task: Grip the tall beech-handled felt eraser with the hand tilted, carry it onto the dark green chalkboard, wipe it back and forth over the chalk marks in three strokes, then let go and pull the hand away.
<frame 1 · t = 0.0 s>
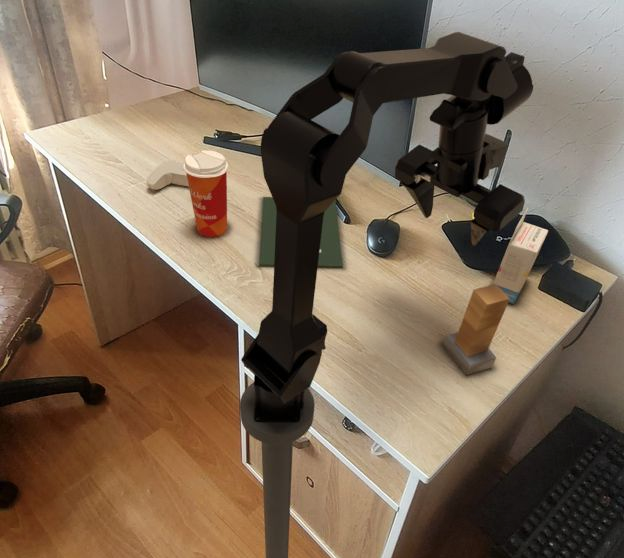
hand: (451, 229, 81), 17 cm above the table, tool pointing down, fingers open, 9 cm apart
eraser: (466, 356, 86), on the table
chalkboard: (300, 231, 108), on the table
game controller: (184, 188, 117), on the table
coffee cup: (212, 229, 107), on the table
ink box: (506, 288, 99), on the table
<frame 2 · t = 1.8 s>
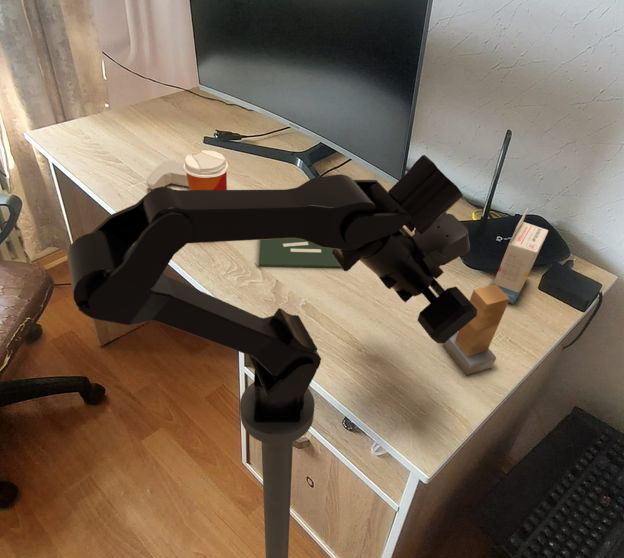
hand: (443, 304, 74), 13 cm above the table, tool tilted 45°, fingers open, 9 cm apart
nothing on the table moved.
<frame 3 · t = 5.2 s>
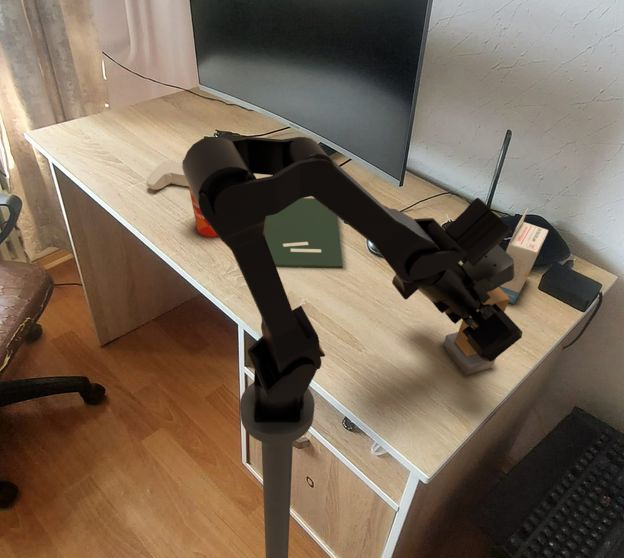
hand: (486, 323, 81), 7 cm above the table, tool tilted 45°, fingers closed on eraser, 3 cm apart
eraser: (466, 356, 86), on the table, touching gripper
everything else where it was.
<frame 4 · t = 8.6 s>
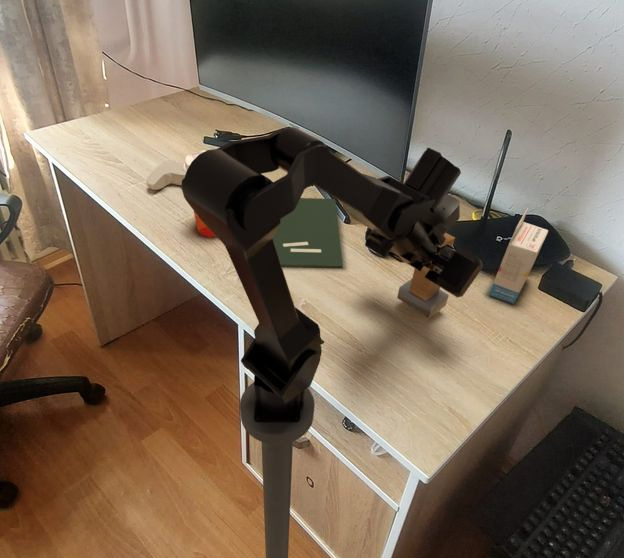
hand: (435, 266, 87), 9 cm above the table, tool tilted 45°, fingers closed on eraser, 3 cm apart
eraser: (421, 301, 92), point 2 cm above the table, touching gripper
everything else where it was.
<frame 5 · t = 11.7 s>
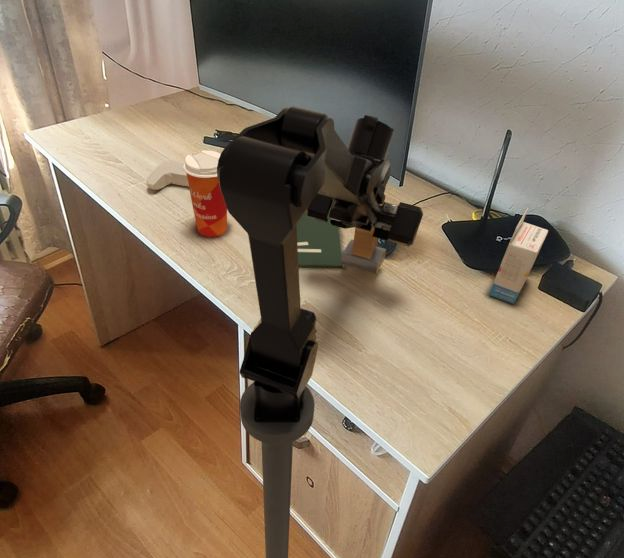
hand: (370, 225, 94), 9 cm above the table, tool tilted 45°, fingers closed on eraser, 3 cm apart
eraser: (362, 261, 98), point 2 cm above the table, touching gripper
everything else where it was.
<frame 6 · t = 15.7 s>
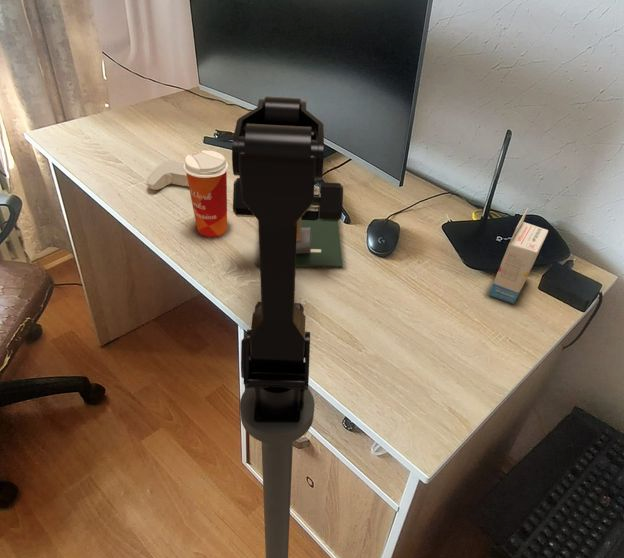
hand: (289, 210, 98), 8 cm above the table, tool tilted 45°, fingers closed on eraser, 4 cm apart
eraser: (293, 246, 102), point 1 cm above the table, tilted 7°, touching chalkboard, gripper
everything else where it was.
when the fingers open (8 cm above the table, at t = 18.6 s): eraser stays where it is, resting on chalkboard.
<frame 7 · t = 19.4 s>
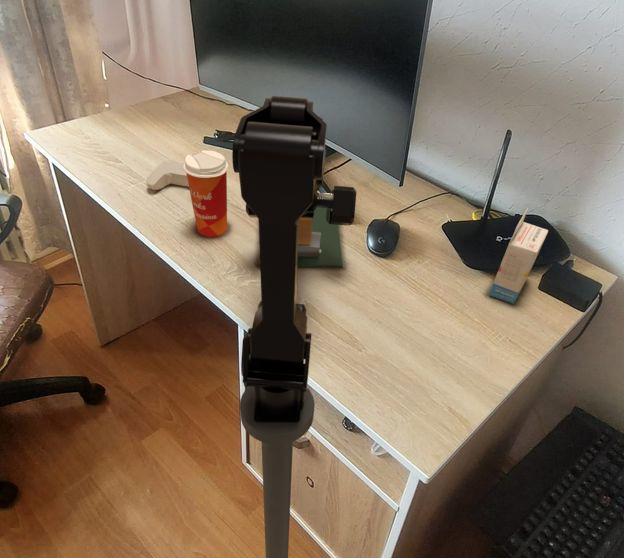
hand: (302, 213, 98), 8 cm above the table, tool tilted 45°, fingers open, 9 cm apart
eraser: (301, 249, 103), point 1 cm above the table, touching chalkboard
everything else where it was.
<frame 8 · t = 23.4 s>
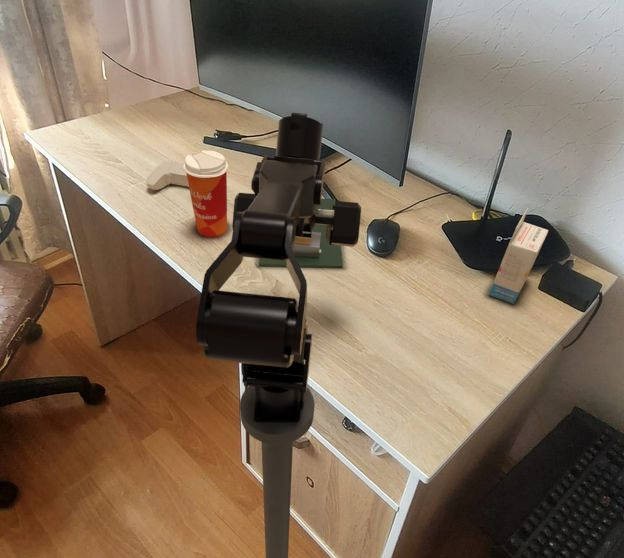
hand: (299, 231, 86), 13 cm above the table, tool tilted 45°, fingers open, 9 cm apart
nothing on the table moved.
at the end: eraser moved 38.5 cm from its start; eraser inside the target area on the chalkboard (0.2 cm from its centre), point 0.6 cm above the chalkboard's base; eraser tilted 0° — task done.
